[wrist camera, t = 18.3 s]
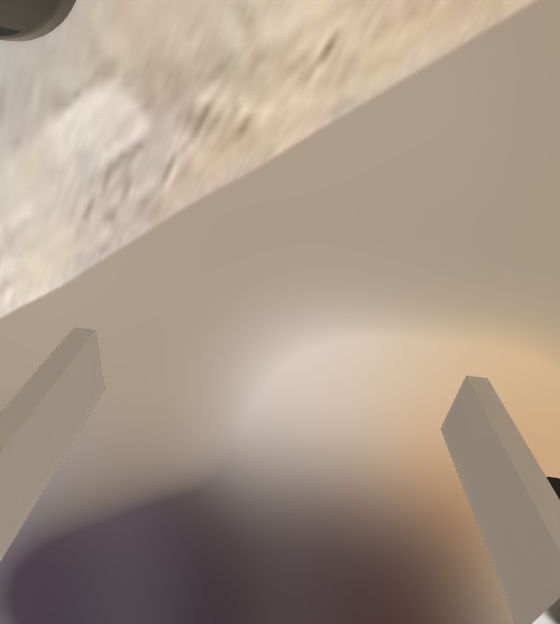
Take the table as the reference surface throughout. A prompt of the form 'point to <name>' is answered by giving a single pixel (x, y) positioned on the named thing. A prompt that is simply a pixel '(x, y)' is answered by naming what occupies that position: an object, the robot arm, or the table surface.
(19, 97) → the table surface
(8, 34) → the robot arm
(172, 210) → the table surface
